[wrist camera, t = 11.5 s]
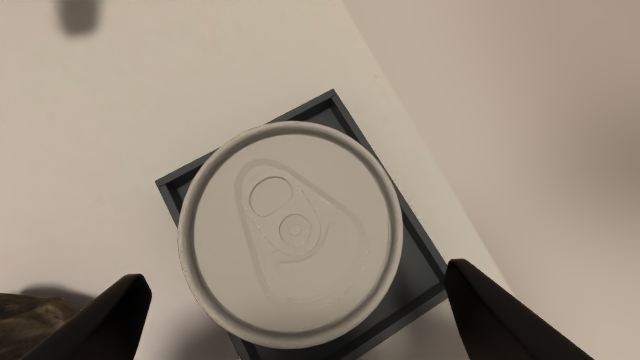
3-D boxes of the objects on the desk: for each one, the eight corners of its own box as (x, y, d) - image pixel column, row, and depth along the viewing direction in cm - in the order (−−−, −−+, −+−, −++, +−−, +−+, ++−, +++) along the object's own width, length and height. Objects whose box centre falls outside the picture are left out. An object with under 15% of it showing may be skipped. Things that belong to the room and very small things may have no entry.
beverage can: (292, 311, 18) (256, 438, 6) (233, 226, 19) (110, 198, 7) (373, 246, 19) (473, 252, 7) (314, 168, 20) (318, 63, 8)
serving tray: (447, 283, 19) (462, 288, 17) (273, 399, 17) (268, 418, 16) (331, 102, 22) (333, 88, 20) (169, 187, 20) (154, 181, 18)
